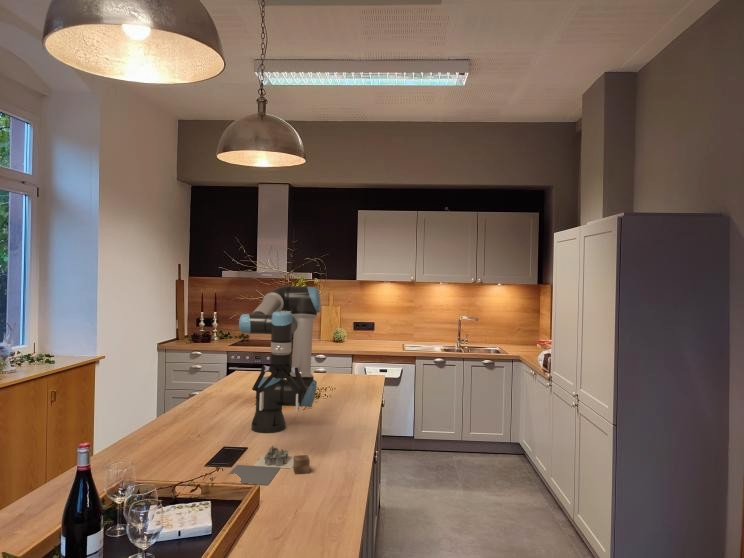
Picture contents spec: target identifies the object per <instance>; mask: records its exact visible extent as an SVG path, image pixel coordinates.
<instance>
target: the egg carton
mask: <svg viewBox="0 0 744 558" xmlns="http://www.w3.org/2000/svg"><path fill="white" fill-rule="evenodd" d="M289 451H290V449H286V448H285V449H283V448H282V449H281V450H279V449H278V447H274V445H271V446H270V447H269V450H268V451H267V452H266V453H265V454H264V455H265V458H264V459H265V464H266V465H277V466H279V465H283V462H285V461H286V459H287V458H288V456H289Z"/></svg>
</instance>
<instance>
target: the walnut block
mask: <svg viewBox="0 0 744 558" xmlns="http://www.w3.org/2000/svg"><path fill="white" fill-rule="evenodd" d="M293 457H294V465H293V467H292V469H293V472H294V475H295V476H296V475H309V474H310V460H311V459H310V457H309V454H301V455H300V454H299V455H293Z"/></svg>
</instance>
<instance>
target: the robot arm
mask: <svg viewBox="0 0 744 558" xmlns="http://www.w3.org/2000/svg"><path fill="white" fill-rule="evenodd" d="M320 296H321V295H320V292H319V289H318V288H317V287H315V286H297V285H296V286H295V285H291V286H290V285H285V286H284V285H283V286H279V287H277V288H274V289H272V290H270V291H269V292H267V293H266V294H265V295H264V297H263V299H262V301H261V303H259V305H258V306H257V307H256V308H255V309H254V310H253V311H252V312H251V313H243V314H241V315H240V317H239V321H238V328H239V331H240V333H241V334H248V335H250V334H251V335H252V334H255V335H256V334H257V335H270V337H271V338H270V339H271V340H270V362H269V366H267V365H265V364H264V365H262V366H261V369H260V373H259V375H258V376H257V379H256V381H255V382H254V384H253V386H252V388H251V389H252V391H255V413H254V416H253V418H252V421H251V427H250V428H251V431H254V432H256V433H263V434H265V433H267V434H268V433H269V434H270V433H272V434H273V433H278V431H279V432H282V431H284V430H285V429H286V421H285V417H284V413H283V407H285V406H286V407H295V413H299V412H300V407H301V408H302V407H311V406H312V405H313V403H314V401H315V397H316V393H317V387H318V385H317V384H318V383H317V380H315V379H314V375H313V373H312V371H311V370H312V368H311V367H312V351H313V349H312V348H313V329H314V320H315V319H316V318H317V317H318V314H319V313H321V306H322V305H321V297H320ZM292 334H293V335H292ZM292 336H293V337H292ZM292 338H293V342H292ZM291 353H292V354H291ZM268 371H269V372H270V375H267V376H265V374H266V372H268ZM281 430H282V431H281Z"/></svg>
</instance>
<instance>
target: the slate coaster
mask: <svg viewBox="0 0 744 558" xmlns="http://www.w3.org/2000/svg"><path fill="white" fill-rule="evenodd" d="M280 469H282V468H281V467H265V466H254V465H249V464H248V465H247V464H246V465H245V464H237V465H236V466H234V467H233V468H232V469H231V471H230V472H229V473H228V474H227V475H229V474H234V473H235V474H237V475H238V476H239V477H240V478H241V481H240V482H241V483H249V484H248V485H253V484H259V485H258V486H269V485H270V484H271V482H272V481H273V479H274V478H275V477H276V475H277V473H279V471H280ZM250 483H251V484H250Z"/></svg>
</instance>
